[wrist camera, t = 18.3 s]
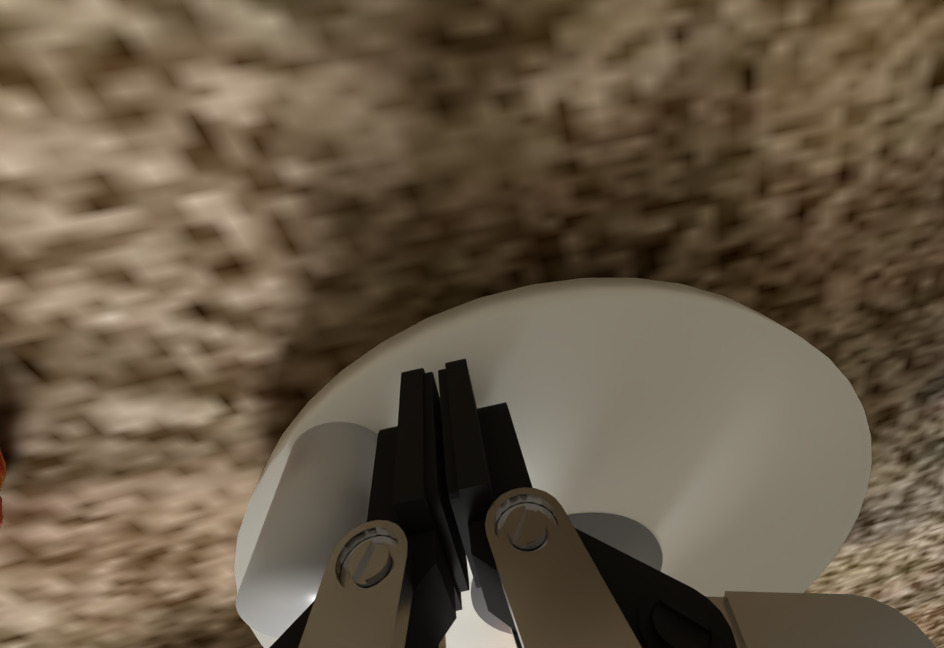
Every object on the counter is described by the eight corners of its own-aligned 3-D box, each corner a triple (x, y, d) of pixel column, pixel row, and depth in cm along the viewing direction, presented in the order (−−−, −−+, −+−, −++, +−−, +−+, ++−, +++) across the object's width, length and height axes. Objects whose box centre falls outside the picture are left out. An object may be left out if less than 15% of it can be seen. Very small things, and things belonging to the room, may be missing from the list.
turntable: (870, 465, 21) (1082, 630, 14) (528, 681, 27) (564, 865, 20) (577, 83, 11) (797, 45, 5) (155, 549, 18) (-2, 812, 11)
